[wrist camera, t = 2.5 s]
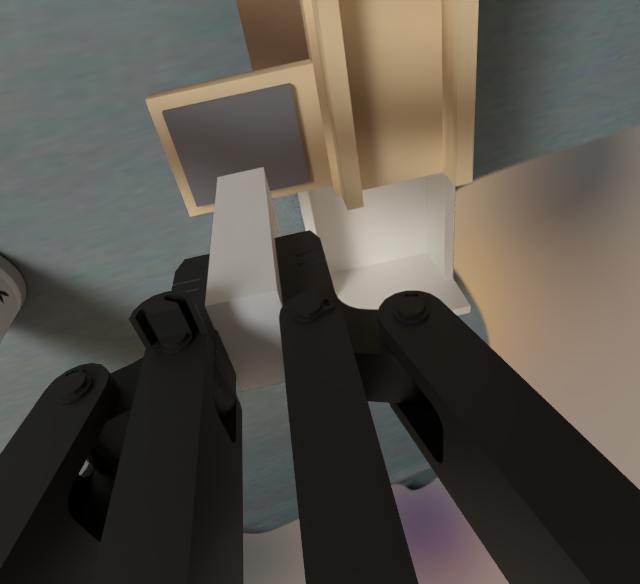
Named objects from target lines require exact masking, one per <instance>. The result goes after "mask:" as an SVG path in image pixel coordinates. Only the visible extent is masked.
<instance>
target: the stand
mask: <svg viewBox="0 0 640 584" xmlns="http://www.w3.org/2000/svg"><path fill="white" fill-rule="evenodd" d="M236 2H237V6H238V10H239V14H240V19H241V23H242V27H243V31H244V35H245V39H246V43H247V48H248V52H249V56H250V60H251V64H252V68H253V71H256V70H261V69H266V68H270V67H275V66H279V65H284V64H289V63H293V62H298V61H302V60H307V59H309V54H308V48H307V42H306V36H305V30H304V24H303V18H302V12H301V6H300V0H236Z"/></svg>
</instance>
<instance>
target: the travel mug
mask: <svg viewBox="0 0 640 584" xmlns="http://www.w3.org/2000/svg"><path fill="white" fill-rule="evenodd" d="M26 292H27V289H26V285H25V282H24V280H23V278H22V276H21V274H20V273H19V271H18V270H17V269H16V268H15V267H14V266H13V265H12V264H11V263H10V262H9V261H8V260H6V259H5V258H3V257H2V256H0V342H1V340H2V339H3V337H4V335H5V334H6V332H7V330H8V329H9V327H10V325H11V324H12V322H13V320H14V319H15V316H16V315H17V313H18V312H19V310H20V308H21V307H22V305H23V303H24V301H25V299H26Z"/></svg>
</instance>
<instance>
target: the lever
mask: <svg viewBox="0 0 640 584" xmlns="http://www.w3.org/2000/svg"><path fill="white" fill-rule="evenodd" d="M300 6H301V12H302V18H303V24H304V30H305V36H306V42H307V48H308V54H309V59H307V60H302V61H298V62H293V63H289V64H284V65H279V66H275V67H270V68H266V69H261V70H256V71H252V72H247V73H243V74H238V75H234V76H229V77H224V78H220V79H215V80H211V81H206V82H202V83H197V84H192V85H188V86H183V87H179V88H174V89H169V90H165V91H160V92H156V93H151V94H149V95H148V97H147V98H146V99H145V101H146V104H147V106H148V109H149V111H150V114H151V116H152V119H153V122H154V124H155V127H156V129H157V132H158V135H159V137H160V140H161V142H162V145H163V147H164V150H165V153H166V155H167V158H168V160H169V163H170V166H171V168H172V171H173V173H174V176H175V178H176V181H177V184H178V186H179V189H180V191H181V194H182V197H183V199H184V202H185V204H186V207H187V209H188V212H189V215H190V217H191V216H195V215H200V214H205V213H209V212H214V208H215V198H216V187H217V177H220V176H225V175H230V174H234V173H239V172H243V171H248V170H252V169H257V168H261V167H264V171H265V174H266V178H267V182H268V186H269V190H270V194H271V198H272V199H273V198H277V197H282V196H286V195H291V194H295V193H300V192H304V191H309V190H314V189H318V188H323V187H327V186H331V188H332V190H333V193H334V196H339V195H342V198H343V200H344V202H345V205H346V207H347V210H352V209H356V208H361V207H364V203H363V195H362V190H366V189H371V188H375V187H380V186H384V185H389V184H393V183H398V182H402V181H407V180H411V179H416V178H421V177H425V176H430V175H434V174H439V173H444V174H445V175H446V176H447V177H448V178H449V179H450V180H451V181H452V183H453V184H454V185H455V186H461V185H465V184H470V183H472V180H473V152H474V123H475V94H476V66H477V37H478V8H479V0H300Z"/></svg>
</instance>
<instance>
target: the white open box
mask: <svg viewBox="0 0 640 584" xmlns="http://www.w3.org/2000/svg"><path fill="white" fill-rule="evenodd" d="M455 187H456V186H455V185H454V184H453V183H452V181H451V180H450V179H449V178H448V177H447V176H446V175H445V174H444V173H439V174H434V175H430V176H425V177H421V178H416V179H411V180H407V181H402V182H398V183H393V184H389V185H384V186H380V187H375V188H371V189H366V190H362V195H363V203H364V207H361V208H356V209H352V210H347V207H346V205H345V202H344V200H343V198H342V195H339V196H334V193H333V190H332V188H331V186H327V187H323V188H318V189H314V190H309V191H304V192H300V193H297V195H298V199H299V204H300V208H301V213H302V217H303V222H304V227H305V231H308V230H311V231H312V232H313V233H314V234H316V235H317V236H318V237H319V238H320V239H321V243H322V247H323V251H324V254H325V257H326V261H327V265H328V268H329V272H330V275H331V279H332V282H333V286H334V290H335V293H336V295H337V297H338V298H339V299H340V300H341V301H342V302H343V303H345V304H347V305H348V306H351V307H354V308H358V309H379V306H380V305H381V304H382V302H383V301H384V300H385V299H386V298H388V297H390V296H391V295H393V294H395V293H399V292H403V291H423V292H427V293H431V294H432V295H434V296H435V297H437V298H439V299H440V300H441V301H442V302H443V303H444V304H445V305H446V306H447V307H448V308H450V309H451V310H452V311H453V312H454V313H455V314H456V315H462V314H466V313H470V307H471V306H470V304H469V302H468V301H467V299H466V298H465V296H464V295H463V293H462V291H461V290H460V288H459V287H458V285H457V283H456V282H455V280H454V279H453V260H454V258H453V257H454V223H455Z"/></svg>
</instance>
